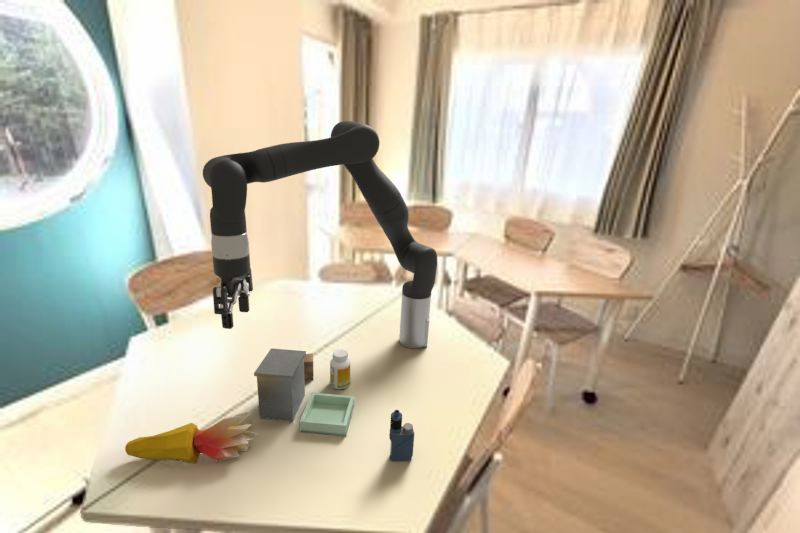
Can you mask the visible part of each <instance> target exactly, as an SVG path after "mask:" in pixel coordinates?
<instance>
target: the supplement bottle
mask: <svg viewBox="0 0 800 533" xmlns="http://www.w3.org/2000/svg"><path fill="white" fill-rule="evenodd" d="M329 366H330V367H329V375H330V376H329V378H330V379H329V383H330V386H331V387H332V388H333V389H335V390H343V389H347V388H348V387H349V386H350V384H351V359H350V358H349V352H348V350H346V349H343V348H338V349H335V350H334V351H332V357H331V359H330V362H329Z"/></svg>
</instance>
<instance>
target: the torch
mask: <svg viewBox="0 0 800 533" xmlns="http://www.w3.org/2000/svg"><path fill="white" fill-rule="evenodd" d="M249 415H250V413H247V412H245V413H244V412H243V413H238V414H234V415H233V416H228V417H224V418H223V419H221V420H219V421H218V422H216V423H215V424H213V425H211V426H210V427H207V428H205V429H202V430H199V428H198V425H196V424H195V423H193V422H190V423H188V424H185V425H181V426H179V427H175V428H173V429H172V430H168V431H165V432H161V433H158V434H154V435H151V436H150V435H149V436H148V435H147V436H140V437H139V436H138V437H137V438H134V439H132V440H129V441H128V442H127V443H126V444H125V447H124V449H125V453H126V454H127V455H128V456H130V457H134V458H138V459H140V460H141V459H143V460H149V461H178V462H184V463H190V464H196V463H197V462H198V460H199V459H200V458H199V457H200V454H203V455H205V456H207V457H209V458H211V459H212V460H214V461H216V462H221V461H225V460H229V459H233V458H236V457H237V458H238V457H240V456H241V455H240V454H239V453H238V452H242V451H248V449H250V448H251V446H250V445H249V443H250V442H249V440H255V437H257V436H259V434H258V433H256V432H252V431H246V430H247V429H248V428H250V426H252V425H253V424H252V423H247V424H242V425H240V424H241V423H242V422H243V421H244V420H246V418H247V417H248V416H249Z"/></svg>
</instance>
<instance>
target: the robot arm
mask: <svg viewBox="0 0 800 533" xmlns="http://www.w3.org/2000/svg"><path fill="white" fill-rule="evenodd" d="M379 149H380V138H379V135H378V133H377V131H376V130H375V129H374V128H373V127H371V126H370V125H368V124H366V123H363V122H357V121H350V120H345V121H340V122H337V123H336V124H335V125H334V126H333V128H332V130H331V133H330V137H327V138H321V139H316V140H305V141H295V142H294V141H293V142H287V143H285V142H284V143H280V144H275V145H271V146H268V147H262V148H258V149H256V150H253V151H246V152H238V153H231V154H225V155H220V156H217V157H213V158H211V159H209V160H208V161H207V162H206V163H205V164H204V166H203V169H202V178H203V180H204V182H205V184H206V185H207V186H209V187H210V188H211V202H212V206H211V208H210V209H209V210H210V211H209V221H210V222H209V223H210V232H211V240H210V242H211V243H210V244H211V245H210V246H211V247H210V248H211V254H212V255H211V256H212V264H213V273H214V275H215V276H217V277H218V278H220V286H219V287H216V286H213V288H212V296H213V298H212V299H213V311H214V315H221V317H220V318H221V325H222V329H228V330H229V329H230V330H231V329H233V328H234V326H235V325H234V315H233V308H234V306H235V304H237V302H238V309H239V312H241V313H248V312H250V303H249V302H250V300H249V297H250V296H251V295H250V294H251V292H253V291H254V287H253V286H254V285H253V276H252V269H251V258H250V255H251V254H250V246H249V244H250V243H249V242H250V241H249V238H248V232H247V230H248V229H247V220H246V218H247V217H246V205H247V196H248V184H252V183H262V184H263V183H270V182H274V181H278V180H281V179H285V178H288V177H291V176H294V175H299V174H302V173H303V174H304V173H306V172H310V171H314V170H319V169H323V168H328V167H333V166H341V165H342V166H343V165H344V167H345V168H346V170H347V171H348V173H349V174H350V175H351V177H352V178H353V180H354V182H355V184H356V185H357V187H358V189H359V191H360V193H361V195H362V196H363V198H364V199H365V202H366V203H367V205H368V207H369V209H370V211H371V212H372V215H373V216H374V218H375V220H376V221H377V223H378V225H379V226H380V228H382V230H383V232H384V234H385V236H386V237H387V239H388V241H389V242H390V244H391V246H392V249H393V251H394V254H395V256H396V259H397V261H398V263H399V265H400V266H401V268H403V269H404V270H406V271H407V272H409V273H413V278H412V280H408V281H406V282H404V283H403V284H402V290H401V291H402V292H401V304H400V305H401V308H400V324H399V336H398V338H399V343H400V345H402V346H403V347H406V348H409V349H421V348H427V347H428V342H429V341H428V340H429V330H430V329H429V328H430V314H431V313H430V310H431V300H432V291H433V288H434V286H435V282H436V274H437V270H438V254H437V252H436V250H435V249H434V248H433V247H430V246H428V245H424V244H422V243H420V242H418V241H416V240H415V238H414V237H413V235H412V233H411V232H410V229H409V228H408V226H409V225H408V224H409V223H408V222H409V208H408V206H407V204H406V202H405V199H404V198H403V196H402V194H401V192H400V190H399V189H398V188H397V187H396V185H395V184H394V182H393V181H391V179H390V178H389V176H387V175H386V174H385V173H384V172H383V170H381V168H380V167H379V166H378V165H377V164H376V162H375V160H374V157H375V156H376V155H377V153H378V152H379ZM237 300H238V301H237Z"/></svg>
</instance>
